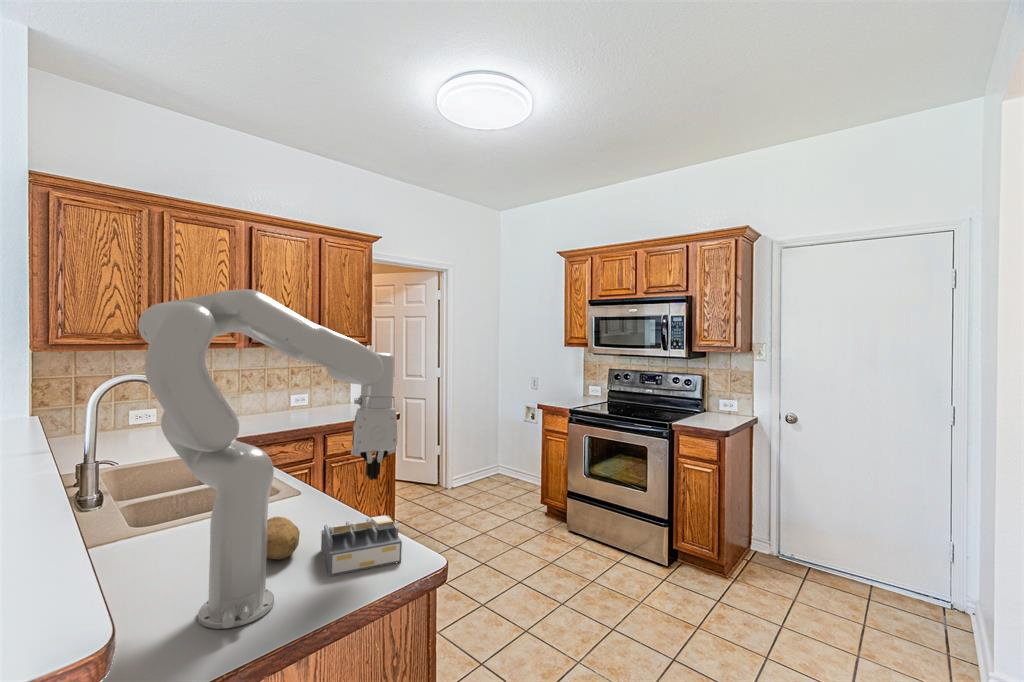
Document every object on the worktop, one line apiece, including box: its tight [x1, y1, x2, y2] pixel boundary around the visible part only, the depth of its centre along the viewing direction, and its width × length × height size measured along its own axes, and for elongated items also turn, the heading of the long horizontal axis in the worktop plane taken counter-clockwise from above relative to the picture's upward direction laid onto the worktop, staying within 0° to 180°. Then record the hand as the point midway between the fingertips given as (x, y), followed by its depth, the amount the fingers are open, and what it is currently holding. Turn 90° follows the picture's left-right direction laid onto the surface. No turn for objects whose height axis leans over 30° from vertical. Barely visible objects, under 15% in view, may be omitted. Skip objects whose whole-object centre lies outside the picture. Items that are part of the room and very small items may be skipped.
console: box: [320, 514, 403, 577], centre depth 115 cm, size 14×16×7 cm
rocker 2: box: [349, 520, 373, 530], centre depth 115 cm, size 8×4×1 cm, turn 29°
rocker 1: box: [328, 524, 351, 534], centre depth 113 cm, size 8×4×1 cm, turn 29°
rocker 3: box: [370, 514, 395, 530], centre depth 118 cm, size 8×4×1 cm, turn 29°
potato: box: [266, 516, 301, 561], centre depth 114 cm, size 10×14×8 cm
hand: (372, 478), depth 117 cm, fingers closed
